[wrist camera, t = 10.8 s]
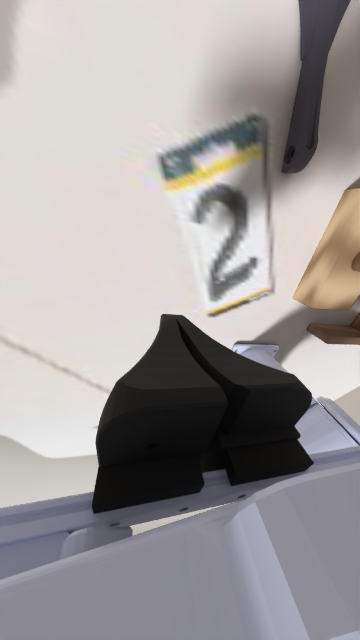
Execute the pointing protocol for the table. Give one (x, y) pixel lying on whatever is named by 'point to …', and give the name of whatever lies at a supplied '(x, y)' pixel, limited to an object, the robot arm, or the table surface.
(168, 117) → the table surface
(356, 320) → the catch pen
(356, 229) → the wooden box with knob
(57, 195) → the table surface
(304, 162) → the bracket
